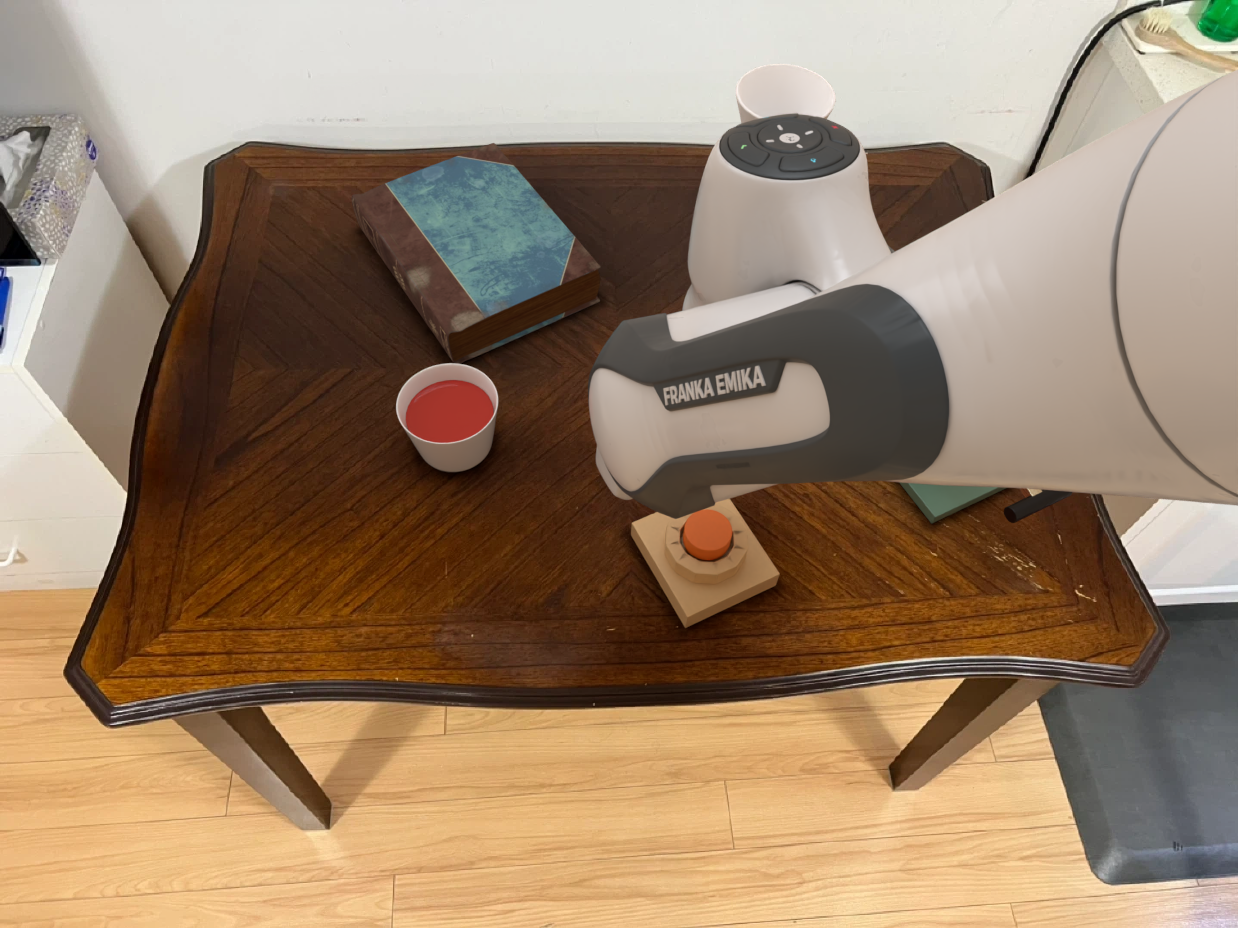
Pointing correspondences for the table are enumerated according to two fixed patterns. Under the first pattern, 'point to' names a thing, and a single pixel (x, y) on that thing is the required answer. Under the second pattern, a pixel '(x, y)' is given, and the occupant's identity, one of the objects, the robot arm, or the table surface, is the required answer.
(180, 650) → the table surface
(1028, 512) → the lever handle
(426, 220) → the book
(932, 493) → the green lever stand
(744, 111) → the cup
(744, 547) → the call button
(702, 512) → the button
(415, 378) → the white round tub
